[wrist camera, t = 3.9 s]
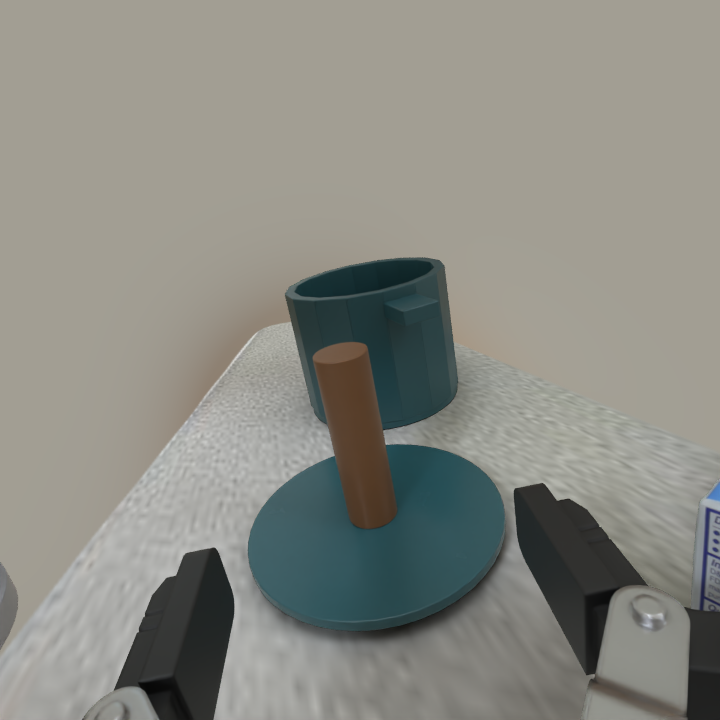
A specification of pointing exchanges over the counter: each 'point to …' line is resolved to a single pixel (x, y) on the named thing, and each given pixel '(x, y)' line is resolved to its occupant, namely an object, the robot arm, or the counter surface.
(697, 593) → the medicine box
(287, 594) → the lid
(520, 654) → the counter surface
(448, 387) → the cooking pot
